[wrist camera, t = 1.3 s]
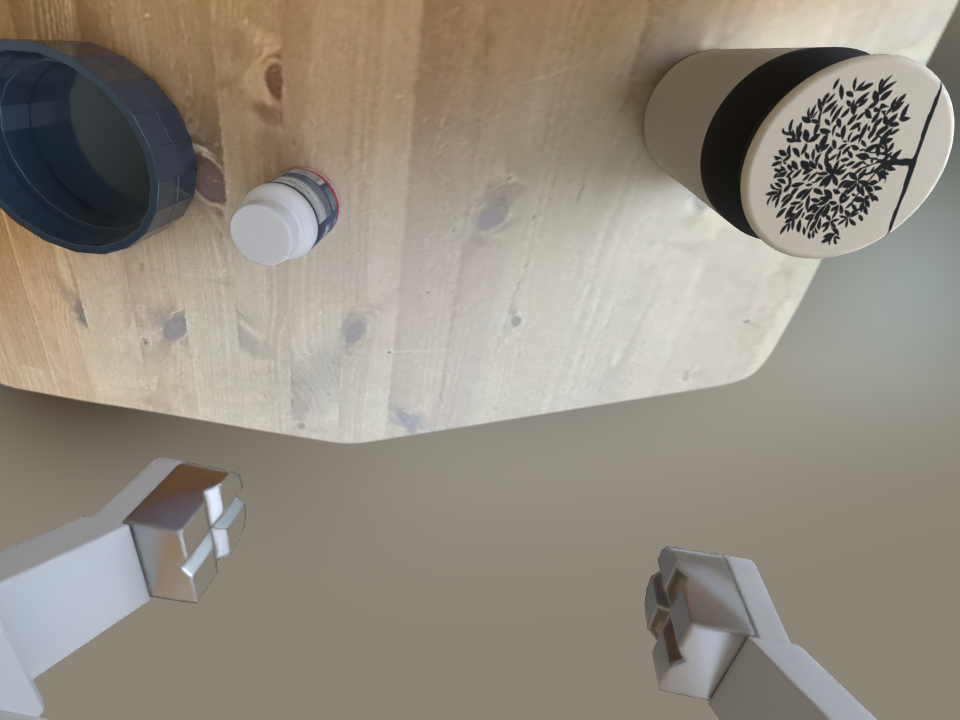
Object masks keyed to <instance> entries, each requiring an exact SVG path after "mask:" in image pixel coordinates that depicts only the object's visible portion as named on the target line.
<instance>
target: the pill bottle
mask: <svg viewBox="0 0 960 720" xmlns="http://www.w3.org/2000/svg"><path fill="white" fill-rule="evenodd" d="M339 216H340V200H339V196H338V193H337V191H336V189H335V187H334V186H333V185H332V183H331V182H330V181H329V180H328V179H327V178H326V177H325V176H324V175H322V174H321V173H319V172H317V171H315V170H313V169H310V168H304V167H298V168H293V169H290V170H287V171H285V172H283V173H282V174H280V175H278V176H277V177H275V178H273V179H271V180H270V181H268V182H266V183H263V184H261V185H259V186H257V187H255V188H254V189H252V190H251V191H250V192H248V193H247V194H246V196H245V197H244V198H243V200H242V202H241V204H240V208H239V209H238V210H236V212H235V213H234V214H233V216H232V218H231V221H230V235H231V238H232V241H233V243H234V245H235V246H236V248H237V250H238V251H239V252H240V253H241V254H242V255H243V256H244V257H246V258H247V259H249V260H250V261H252V262H254V263H256V264H260V265H266V266H271V265H276V264H279V263H281V262H283V261H289V260H294V259H297V258H300V257H301V256H303V255H304V254H306V253H307V252H308V251H310V250H311V249H312V248H313V247H314V246H315V245H316V244H317V243H318V242H319V241H320V240H321V239H322V238H323V237H324V236H325V235H326V234H327V233H328V232H329V231H331V230H332V228H333V227H334V226H335V225H336V223H337V221H338V219H339Z"/></svg>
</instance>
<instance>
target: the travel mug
mask: <svg viewBox="0 0 960 720" xmlns="http://www.w3.org/2000/svg"><path fill="white" fill-rule="evenodd" d="M953 135H954V113H953V108H952V103H951V100H950V97H949V94H948V92H947V91H946V89H945V87H944V85H943V84H942V82H941V81H940V80H939V78H938V77H937V76H936V75H935V74H934V73H933V72H932V71H930V70H929V69H928V68H927V67H925V66H924V65H922V64H920V63H918V62H916V61H914V60H911V59H908V58H905V57H901V56H897V55H888V54H873V55H871V54H869V53H866V52H864V51H860V50H857V49H852V48H845V47H816V48H762V49H715V50H707V51H702V52H699V53H696V54H693V55H691V56H689V57H687V58H685V59H684V60H682V61H680V62H679V63H678V64H676V65H675V66H674V67H673V68H672V69H670V70H669V71H668V72H667V73H666V74H665V75H664V77H663V78H662V79H661V80H660V82H659V83H658V85H657V86H656V88H655V89H654V91H653V93H652V95H651V97H650V99H649V102H648V105H647V108H646V112H645V117H644V137H645V142H646V146H647V149H648V151H649V153H650V155H651V157H652V158H653V160H654V161H655V162H656V163H657V164H658V166H660V167H661V168H662V169H663V170H664V171H666V172H667V173H668V174H669V175H671V176H672V177H673V178H674V179H676V180H677V181H678V182H679V183H681V184H682V185H683V186H684V187H686V188H687V189H688V190H689V191H691V192H692V193H693V194H694V195H696V196H697V197H698V198H699V199H701V200H702V201H703V202H704V203H706V204H707V205H708V206H709V207H711V208H712V209H713V210H714V211H716V212H717V213H718V214H719V215H721V216H722V217H723V218H724V219H726V220H727V221H728V222H729V223H731V224H732V225H733V226H734V227H736V228H737V229H739V230H740V231H742V232H744V233H746V234H747V235H750V236H752V237H755V238H759V239H761V240H762V241H763V242H765V243H766V244H767V245H769V246H770V247H772V248H774V249H775V250H777V251H779V252H782V253H784V254H787V255H790V256H795V257H800V258H828V257H835V256H839V255H843V254H847V253H850V252H853V251H856V250H858V249H861V248H863V247H866V246H867V245H869V244H872V243H874V242H875V241H877V240H879V239H881V238H882V237H884V236H886V235H887V234H888V233H890V232H891V231H893V230H894V229H895V228H897V227H898V226H899V225H900V224H902V223H903V222H904V221H905V220H906V219H907V218H909V217H910V216H911V215H912V214H913V213H914V212H915V211H916V210H917V209H918V207H919V206H920V205H921V204H922V203H923V201H924V200H925V199H926V198H927V196H928V195H929V194H930V192H931V191H932V189H933V188H934V186H935V185H936V183H937V181H938V179H939V178H940V176H941V174H942V172H943V170H944V167H945V165H946V163H947V160H948V157H949V154H950V151H951V146H952V142H953Z"/></svg>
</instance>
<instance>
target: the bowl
mask: <svg viewBox="0 0 960 720" xmlns="http://www.w3.org/2000/svg"><path fill="white" fill-rule="evenodd" d="M190 138H191V137H190V135H189V133H188V131H187V129H186V127H185V125H184V123H183V121H182V119H181V117H180V115H179V113H178V111H177V109H176V108H175V106H174V105H173V104H172V103H171V101H170V100H169V99H168V98H167V96H166V95H165V94H164V93H163V92H162V90H161V89H160V88H159V87H158V85H157V84H156V83H155V82H154V81H153V80H152V78H150V77H149V76H148V75H147V74H145V73H144V72H143V71H141V70H140V69H139V68H137V67H136V66H135V65H134V64H132V63H131V62H130V61H128V60H127V59H126V58H125V57H122V56H121V55H119V54H116V53H114V52H112V51H109V50H107V49H105V48H102V47H100V46H97V45H95V44H93V43H89V42H77V41H65V40H33V39H0V208H1V209H2V210H3V211H4V212H6V213H7V214H8V215H9V216H10V217H11V218H12V219H13V220H14V221H15V222H16V223H18V224H19V225H21V226H23V227H24V228H26V229H27V230H29V231H30V232H32V233H34V234H35V235H37V236H38V237H40V238H41V239H43V240H45V241H47V242H50V243H53V244H55V245H58V246H61V247H63V248H66V249H69V250H72V251H75V252H82V253H93V254H107V253H111V252H115V251H119V250H123V249H127V248H129V247H131V246H133V245H135V244H137V243H139V242H141V241H143V240H145V239H147V238H149V237H151V236H153V235H155V234H157V233H159V232H161V231H163V230H165V229H167V228H168V227H169V226H171V225H172V224H173V223H175V222H176V221H177V220H178V219H180V218H181V217H182V216H183V215H184V214H185V212H186V210H187V208H188V206H189V204H190V202H191V200H192V198H193V196H194V192H195V182H196V172H197V169H196V168H197V166H196V161H195V157H194V152H193V147H192V142H191V139H190Z"/></svg>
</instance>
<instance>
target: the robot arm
mask: <svg viewBox="0 0 960 720" xmlns="http://www.w3.org/2000/svg"><path fill="white" fill-rule="evenodd" d="M241 489H242V481H241V476H240V474H239V473H237V472H234V471H230V470H226V469H221V468H215V467H211V466H205V465H201V464H196V463H190V462H182V461H178V460H172V459H168V458H163V457H161V458H158V459H156V460H153V461H151V462H150V463H149V464H148V465H147V466H146V467H145V468H144V469H143V470H142V471H141V472H140V473H139V474H138V475H136V476H135V477H134V478H133V479H132V480H131V481H130V482H129V483H128V484H127V485H126V486H125V487H124V488H123V489H122V490H120V491H119V492H118V493H117V494H116V495H115V496H114V497H113V498H112V499H111V500H110V501H109V502H108V503H107V504H106V505H104V506H103V507H102V508H101V509H100V510H99V511H98V512H97V513H96V514H95V515H94V516H93V517H92V518H90V517H84V516H83V517H81V518H78V519H76V520H74V521H71V522H69V523H66V524H64V525H62V526H59V527H57V528H55V529H52V530H50V531H47V532H45V533H42V534H40V535H38V536H35V537H33V538H30V539H28V540H26V541H23V542H21V543H19V544H16V545H14V546H12V547H9V548H7V549H4V550H2V551H0V720H49V719H44V718H39V716H40V714H41V713H42V712H43V710H44V701H43V699H42V697H41V695H40V693H39V691H38V689H37V688H36V686H35V684H34V682H33V680H32V679H34V678H35V677H37V676H38V675H40V674H41V673H43V672H44V671H45V670H47V669H48V668H50V667H51V666H53V665H54V664H56V663H57V662H59V661H60V660H61V659H63V658H65V657H66V656H68V655H69V654H70V653H72V652H73V651H75V650H76V649H78V648H79V647H81V646H82V645H84V644H85V643H87V642H88V641H90V640H91V639H93V638H94V637H95V636H97V635H98V634H100V633H102V632H103V631H105V630H106V629H107V628H109V627H110V626H112V625H113V624H115V623H116V622H118V621H119V620H121V619H122V618H124V617H125V616H127V615H128V614H130V613H131V612H133V611H134V610H136V609H137V608H138V607H140V606H141V605H143V604H144V603H146V602H147V601H149V600H150V597H156V598H162V599H169V600H175V601H181V602H188V603H194V604H197V602H198V601H199V600H200V598H201V597H202V595H203V594H204V592H205V591H206V589H207V588H208V586H209V585H210V583H211V582H212V581H213V579H214V578H215V576H216V575H217V573H218V571H217V561H218V560H220V559H222V558H224V557H225V556H227V555H229V554H231V552H232V551H233V549H234V548H235V546H236V545H237V543H238V542H239V540H240V537H241V534H242V532H243V529H244V527H245V520H246V508H245V504H244V503H243V502H242V500H241V499H240V498H239V497H238V496H237V494H238V493H239V491H240V490H241ZM658 563H659V567H660V571H659V572H657V573H656V574H654V575H652V576H651V578H650V581H649V583H648V586H647V589H646V597H645V616H646V622H647V628H648V630H649V631H650V632H651V633H652V635H653V636H654V637H655V638H656V640H657V643H656V645H655V647H654V649H653V652H652V654H653V660H654V665H655V670H656V676H657V681H658V686H659V690H661V691H666V692H671V693H675V694H679V695H684V696H689V697H693V698H698V699H703V700H707V701H709V705H710V706H711V708H712V709H713V711H714V713H715V714H716V715H717V717H718V718H719V720H877V719H876V718H875V717H874V716H873V715H871V714H870V713H869V712H868V711H867V710H866V709H865V708H864V707H863V706H862V705H861V704H860V703H859V702H858V701H857V700H856V699H855V698H853V696H851V694H850V693H848V692H847V691H846V690H845V689H844V688H843V687H842V686H841V685H840V684H839V683H838V682H837V681H836V680H835V679H834V678H832V676H830V674H829V673H828V672H826V670H824V669H823V668H822V667H821V666H820V665H819V664H818V663H817V662H816V661H815V660H814V659H813V658H812V657H811V656H810V655H809V654H808V653H807V652H806V651H805V650H804V649H803V648H801V647H800V646H799V645H794V644H790V642H789V639H788V637H787V635H786V633H785V630H784V628H783V626H782V624H781V622H780V619H779V617H778V615H777V612H776V610H775V608H774V606H773V603H772V601H771V599H770V597H769V595H768V592H767V590H766V588H765V585H764V583H763V581H762V579H761V576H760V574H759V572H758V570H757V568H756V565H755V564H754V563H753V562H752V561H751V560H749V559H743V558H738V557H731V556H725V555H718V554H712V553H707V552H701V551H695V550H689V549H682V548H676V547H670V546H666V547H665V548H664V549H663V550H662V551H661V554H660V556H659V558H658Z"/></svg>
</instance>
